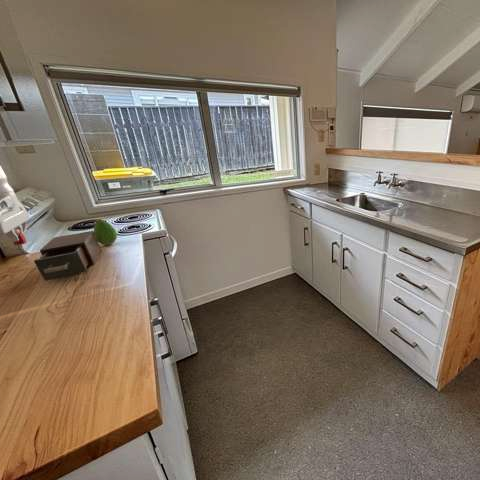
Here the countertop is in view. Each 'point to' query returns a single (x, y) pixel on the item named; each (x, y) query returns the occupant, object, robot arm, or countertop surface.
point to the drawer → (63, 262)
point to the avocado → (104, 232)
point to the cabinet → (76, 239)
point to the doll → (22, 238)
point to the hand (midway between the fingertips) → (18, 239)
